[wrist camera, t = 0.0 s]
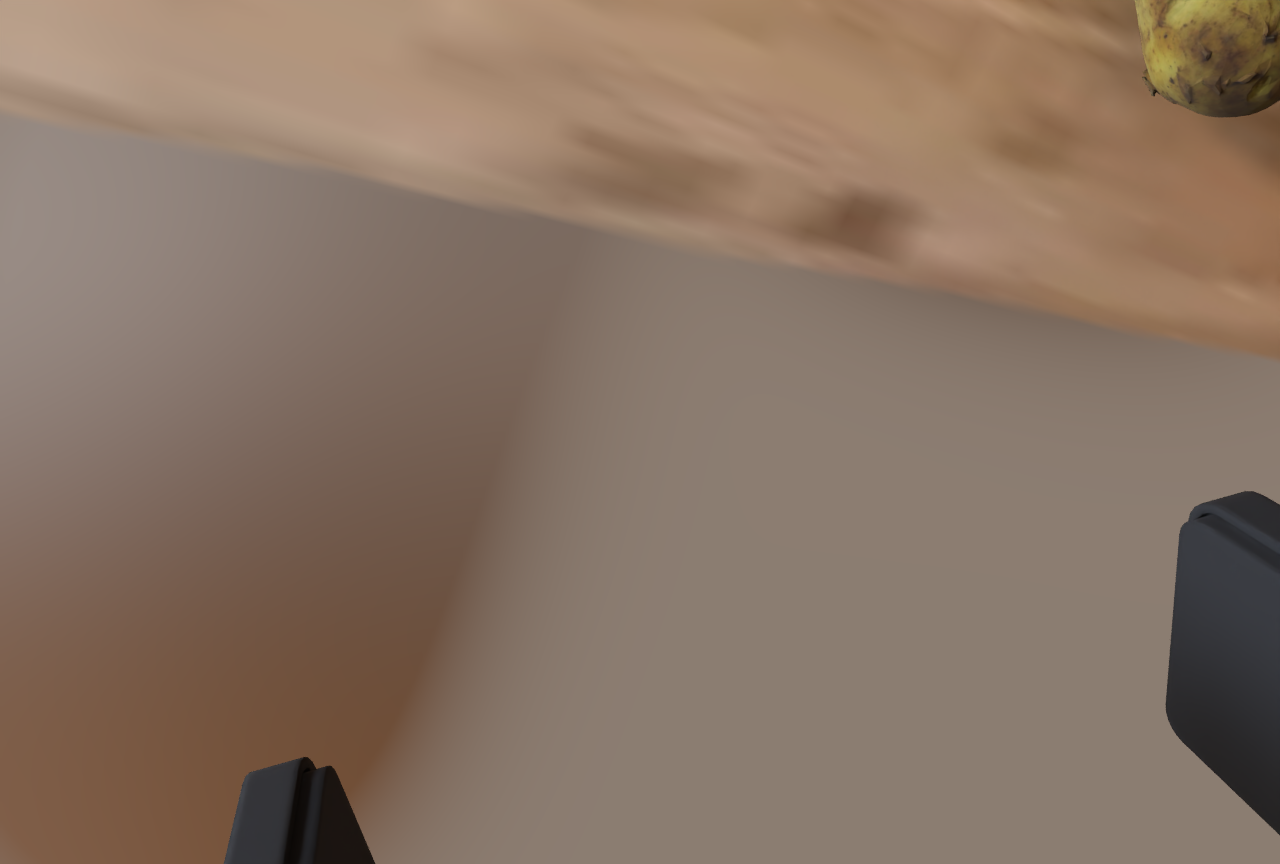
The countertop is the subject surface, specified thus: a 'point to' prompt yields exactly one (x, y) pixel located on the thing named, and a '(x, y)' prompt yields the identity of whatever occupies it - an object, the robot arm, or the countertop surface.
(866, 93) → the countertop surface
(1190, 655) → the robot arm
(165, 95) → the countertop surface
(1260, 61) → the potato
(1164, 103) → the countertop surface
